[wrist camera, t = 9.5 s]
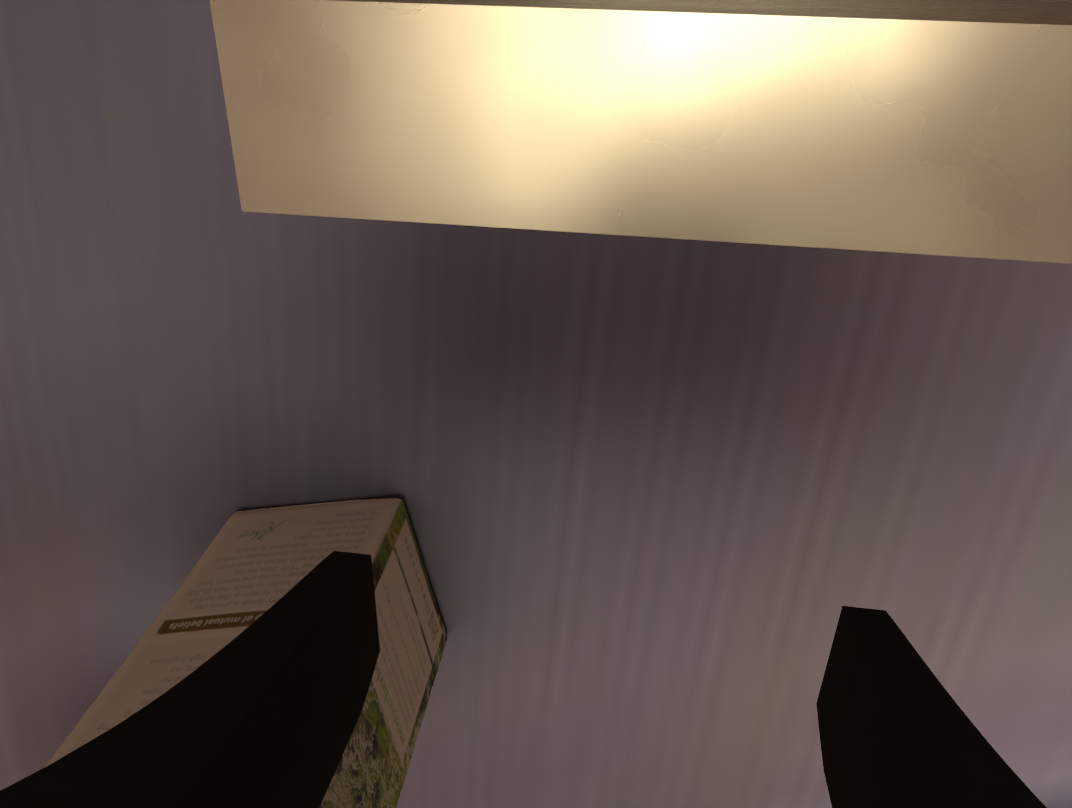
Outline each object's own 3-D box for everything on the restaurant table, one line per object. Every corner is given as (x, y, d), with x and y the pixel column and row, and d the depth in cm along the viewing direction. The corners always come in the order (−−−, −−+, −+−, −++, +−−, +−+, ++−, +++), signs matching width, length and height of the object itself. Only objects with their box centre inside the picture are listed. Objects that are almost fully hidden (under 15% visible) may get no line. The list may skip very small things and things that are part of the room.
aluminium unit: (1147, -58, 15) (1460, -61, 9) (1059, 209, 18) (1262, 344, 12) (317, -77, 17) (124, -90, 11) (340, 168, 20) (192, 268, 13)
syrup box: (228, 506, 25) (-214, 1070, 12) (411, 489, 24) (126, 1097, 11) (290, 646, 28) (-24, 1230, 15) (459, 637, 26) (269, 1267, 14)
